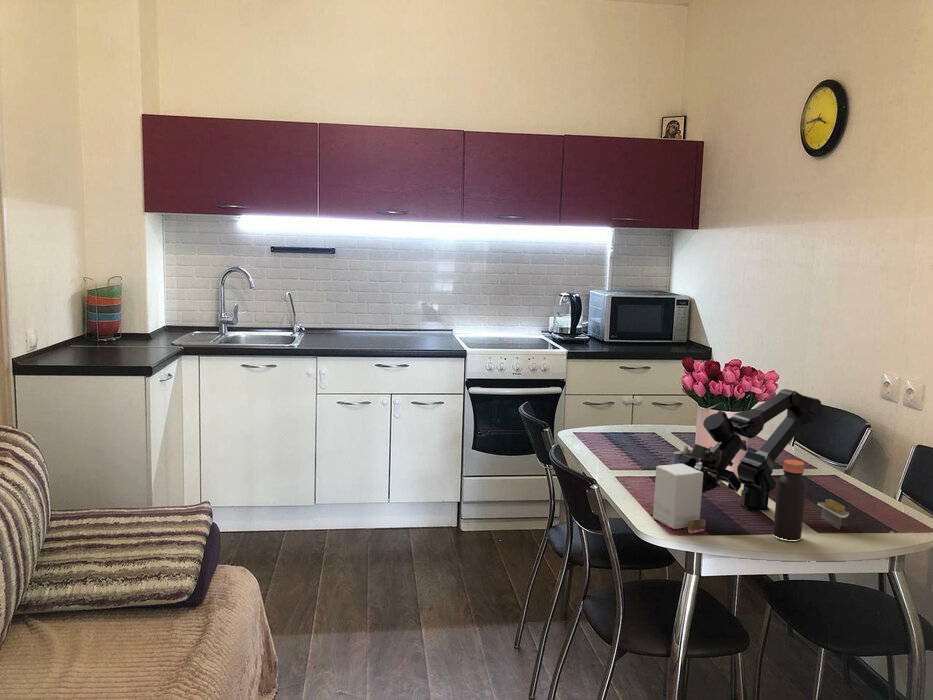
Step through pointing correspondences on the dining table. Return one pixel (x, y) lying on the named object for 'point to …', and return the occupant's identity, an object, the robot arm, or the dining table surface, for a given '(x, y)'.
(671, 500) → the supplement box
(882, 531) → the dining table surface
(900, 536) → the dining table surface
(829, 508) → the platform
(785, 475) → the bottle
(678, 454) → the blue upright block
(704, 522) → the walnut slot
